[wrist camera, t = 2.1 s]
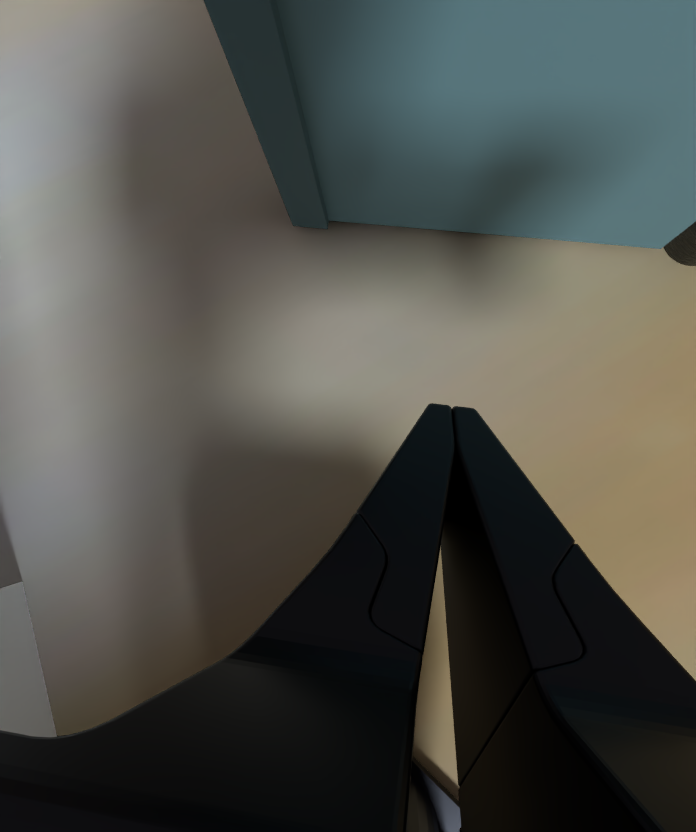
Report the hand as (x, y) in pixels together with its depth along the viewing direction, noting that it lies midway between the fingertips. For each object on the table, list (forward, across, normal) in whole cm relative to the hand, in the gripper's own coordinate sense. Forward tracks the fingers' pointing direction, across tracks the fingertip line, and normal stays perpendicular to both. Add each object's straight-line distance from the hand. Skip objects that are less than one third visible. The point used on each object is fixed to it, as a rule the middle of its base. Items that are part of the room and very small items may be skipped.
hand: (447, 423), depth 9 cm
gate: (+16, -1, +1) cm, 16 cm away
